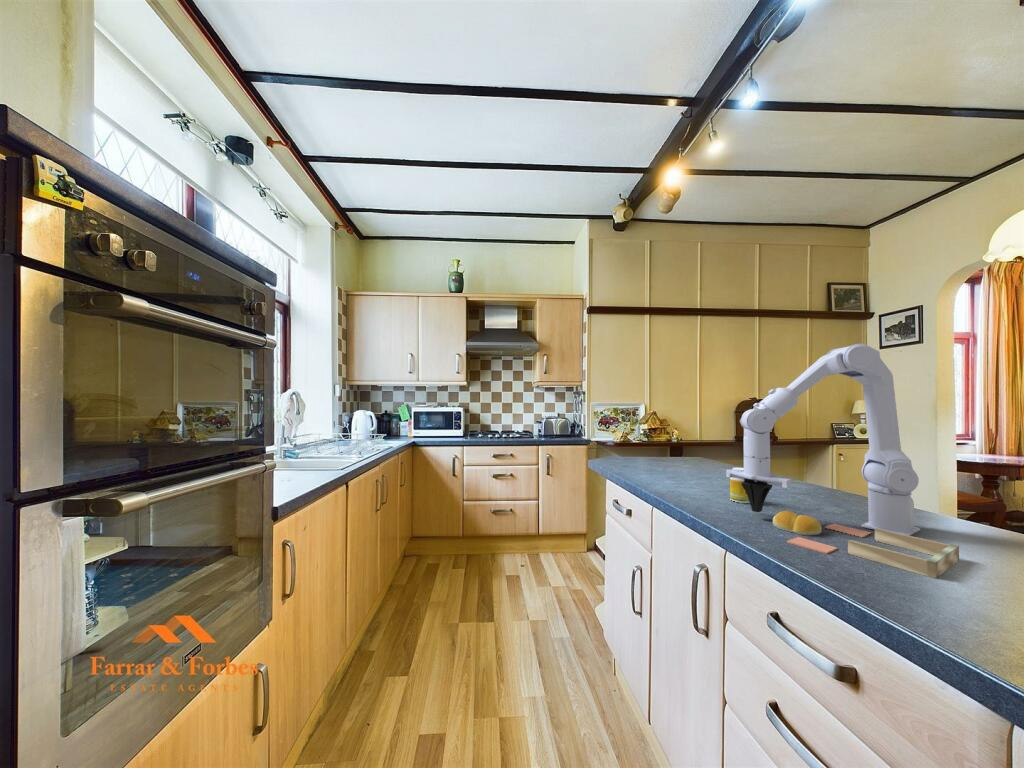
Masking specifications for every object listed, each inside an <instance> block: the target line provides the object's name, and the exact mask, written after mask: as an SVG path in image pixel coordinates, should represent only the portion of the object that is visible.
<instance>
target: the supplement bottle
mask: <svg viewBox="0 0 1024 768" xmlns="http://www.w3.org/2000/svg"><path fill="white" fill-rule="evenodd" d="M732 470H740V471H744V467H732ZM742 482H744V480H743V479H737V478H732V477H731V478H729V500H730V501H731V500H732V501H731V502H733V501H735V502H734V503H736V502H740V503H739V504H742V503H748V504H750V501H749V498H748V496H747V493H746V491H745V490H744V488H743V486H742Z"/></svg>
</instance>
